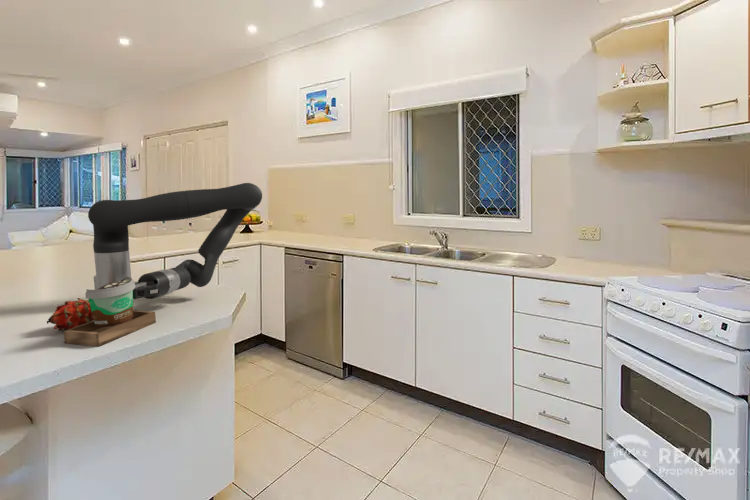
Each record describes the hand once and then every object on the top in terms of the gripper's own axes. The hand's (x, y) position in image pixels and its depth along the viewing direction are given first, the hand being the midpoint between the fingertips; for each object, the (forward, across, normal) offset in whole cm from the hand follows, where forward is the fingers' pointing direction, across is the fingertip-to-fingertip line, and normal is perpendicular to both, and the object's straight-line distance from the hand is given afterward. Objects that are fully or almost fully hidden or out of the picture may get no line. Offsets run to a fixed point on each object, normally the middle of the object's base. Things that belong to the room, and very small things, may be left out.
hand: (109, 297), depth 100 cm
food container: (0, +2, +6) cm, 7 cm away
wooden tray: (0, 0, +9) cm, 9 cm away
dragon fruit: (0, -11, +9) cm, 15 cm away
